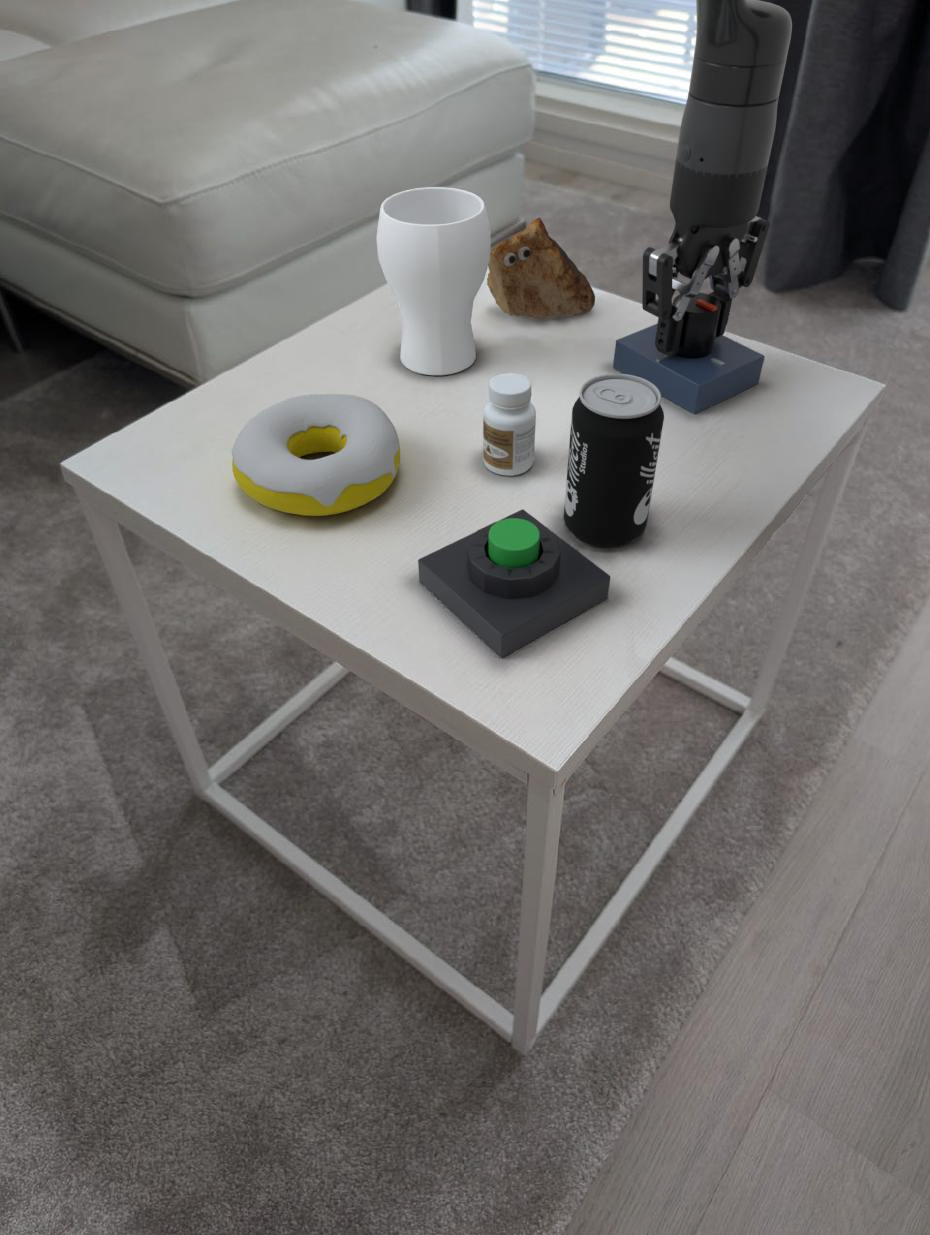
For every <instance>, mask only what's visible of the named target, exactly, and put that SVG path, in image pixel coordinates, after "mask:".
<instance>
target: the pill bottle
mask: <svg viewBox="0 0 930 1235" xmlns="http://www.w3.org/2000/svg"><path fill="white" fill-rule="evenodd" d="M488 384H489V385H488V397H489V398H488V399H489V401H487V403H486V405H485V406H484V408H483V414H482V418H483V419H482V420H483V421H482V424H483V425H482V427H483V428H482V429H483V430H482V442H483V444H482V446H483V449H482V450H483V451H482V453H483V454H482V455H483V458H482V459H483V464H484V466H485V468H487V469H488V470H489V471H490V472H493V473H495V474H497V475H501V476H509V477H510V476H511V477H512V476H517V475H521V474H523V473H526V472H527V471H528V470H530V469H531V468H532V467H533V464H534V462H535V461H534V460H535V445H536V444H535V443H536V423H537V422H536V421H537V410H536V407H535V405H534V404H533V403H532V402H531V401H532V400H531V399H532V394H533V393H532V382H531V379H529V378H528V377H527V376H525V375H523V374H519V373H513V372H506V373H501V374H498V375H495V376H493V377H492V378H491V379H490V380H489V383H488Z"/></svg>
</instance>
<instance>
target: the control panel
mask: <svg viewBox="0 0 930 1235" xmlns="http://www.w3.org/2000/svg"><path fill="white" fill-rule="evenodd" d="M657 324H658V322H657V323H655V324H653V325H651V326H647V327H645V328H643V329H640V330H638V331H635V332H633V333H631V334H628V335H626V336H623V337H621V338H618V339H616V340H615V345H614V355H613V364H612V369H614V370H616V371H618V372H620V373H621V374H627V375H633V376H637V377H640V378H643V379H645V380H647V381H649V382H651V383H652V384H654V385H655V386H656V387H657V388H658V390H659V391H660V394H661V397H663V398H666V399H667V400H668V401H671V403H674V404H676V405H677V406H679V407H681V408H683V409H685V410H686V411H688V412H689V413H691V414H693V415H695V414H697V413H699V412H702V411H704V410H706V409H709V408H710V407H712V406H714V405H716V404H719V403H721V402H723V401H725V400H728V399H729V398H732V397H733V396H735V395H737V394H740V393H742V392H744V391H747V390H748V389H751V388H753V387H754V386H756V385H758V384H759V383H760V378H761V375H762V370H763V366H764V362H765V357H766V356H765V355H764V354H762V353H760V352H759V351H755V350H754V349H752V348H750V347H748V346H745V345H744V344H742V343H740V342H738V341H735V340H733V339H731V338H730V337H728V336H725V335H724V334H723V335H721V336H719V337H715V341H714V346H713V351H712V352H711V353H710V354H709V355H707V356H705V357H701V358H684V357H680V356H677V355H674V356H672V357H668V356H667V355H665V354H663V353H661V352H659V351H658V350H657V348H656V346H655V338H656V333H657V332H656V331H657Z"/></svg>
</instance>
